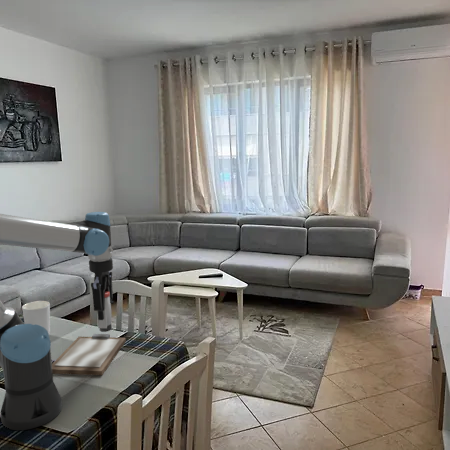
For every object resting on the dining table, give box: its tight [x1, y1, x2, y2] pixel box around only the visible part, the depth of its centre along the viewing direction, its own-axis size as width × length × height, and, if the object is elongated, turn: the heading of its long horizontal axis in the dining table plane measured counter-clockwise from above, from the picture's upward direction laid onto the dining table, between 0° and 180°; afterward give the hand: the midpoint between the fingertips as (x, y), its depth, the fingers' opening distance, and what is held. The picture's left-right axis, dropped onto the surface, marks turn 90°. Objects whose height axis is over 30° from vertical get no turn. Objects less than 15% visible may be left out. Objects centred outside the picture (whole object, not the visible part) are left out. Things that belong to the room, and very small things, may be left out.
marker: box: [99, 291, 113, 333], centre depth 142 cm, size 4×4×13 cm
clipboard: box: [52, 333, 127, 376], centre depth 145 cm, size 18×24×3 cm
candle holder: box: [21, 300, 51, 335], centre depth 162 cm, size 10×10×12 cm
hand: (105, 324), depth 143 cm, fingers closed on marker, 4 cm apart
